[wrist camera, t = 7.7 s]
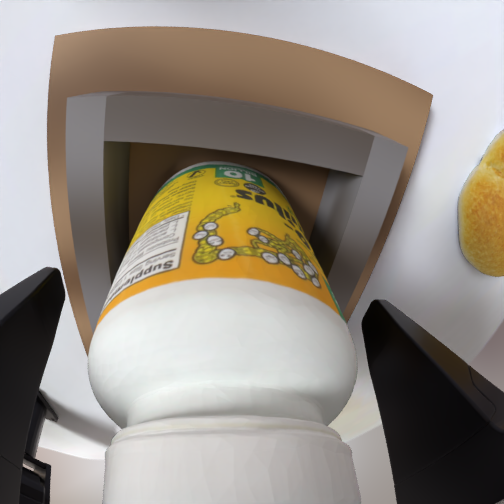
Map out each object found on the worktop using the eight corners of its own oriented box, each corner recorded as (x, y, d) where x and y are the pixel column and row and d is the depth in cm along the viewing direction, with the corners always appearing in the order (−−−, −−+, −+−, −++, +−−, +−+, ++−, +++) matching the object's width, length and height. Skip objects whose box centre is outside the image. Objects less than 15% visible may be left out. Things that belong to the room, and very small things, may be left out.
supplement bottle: (121, 218, 10) (10, 482, 2) (234, 125, 9) (312, 492, 1) (211, 304, 13) (216, 535, 5) (317, 237, 12) (426, 486, 4)
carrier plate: (290, 404, 21) (298, 449, 17) (108, 390, 19) (98, 435, 15) (419, 92, 9) (486, 108, 6) (67, 37, 7) (4, 31, 4)
